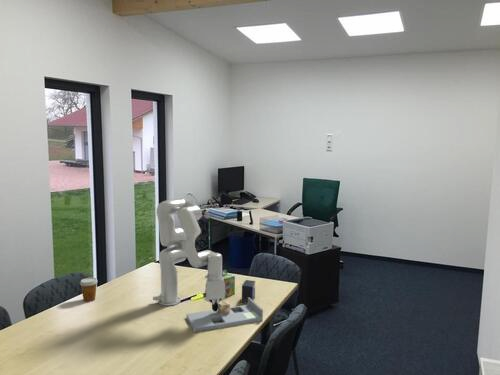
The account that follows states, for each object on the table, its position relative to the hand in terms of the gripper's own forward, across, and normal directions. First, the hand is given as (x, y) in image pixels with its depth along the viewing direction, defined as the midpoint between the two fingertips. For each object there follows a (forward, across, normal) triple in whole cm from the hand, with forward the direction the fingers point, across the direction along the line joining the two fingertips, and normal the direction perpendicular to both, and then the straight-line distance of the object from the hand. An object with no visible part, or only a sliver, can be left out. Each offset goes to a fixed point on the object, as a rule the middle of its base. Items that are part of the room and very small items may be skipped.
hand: (215, 310), depth 211 cm
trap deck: (+4, +4, -4) cm, 7 cm away
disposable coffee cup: (+4, -62, +49) cm, 79 cm away
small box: (+4, +26, +16) cm, 30 cm away
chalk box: (+4, +15, +30) cm, 34 cm away
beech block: (+2, +5, 0) cm, 5 cm away
